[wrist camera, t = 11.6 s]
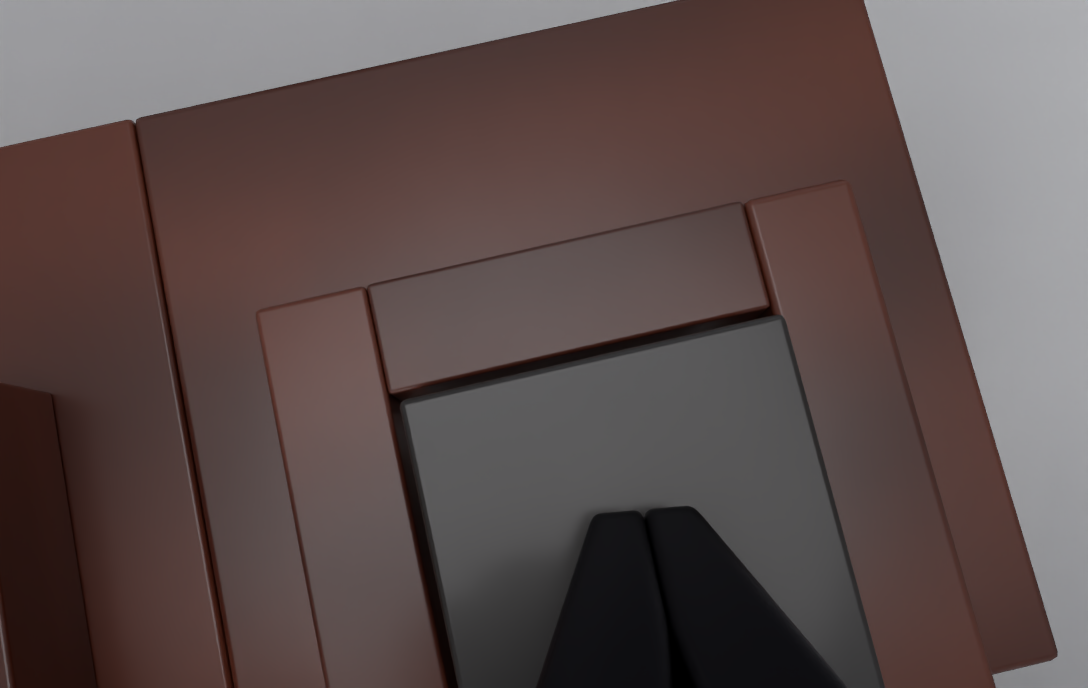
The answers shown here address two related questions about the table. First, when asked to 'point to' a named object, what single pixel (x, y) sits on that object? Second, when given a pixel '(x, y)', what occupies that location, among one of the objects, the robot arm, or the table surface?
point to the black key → (629, 489)
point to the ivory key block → (95, 434)
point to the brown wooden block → (567, 312)
